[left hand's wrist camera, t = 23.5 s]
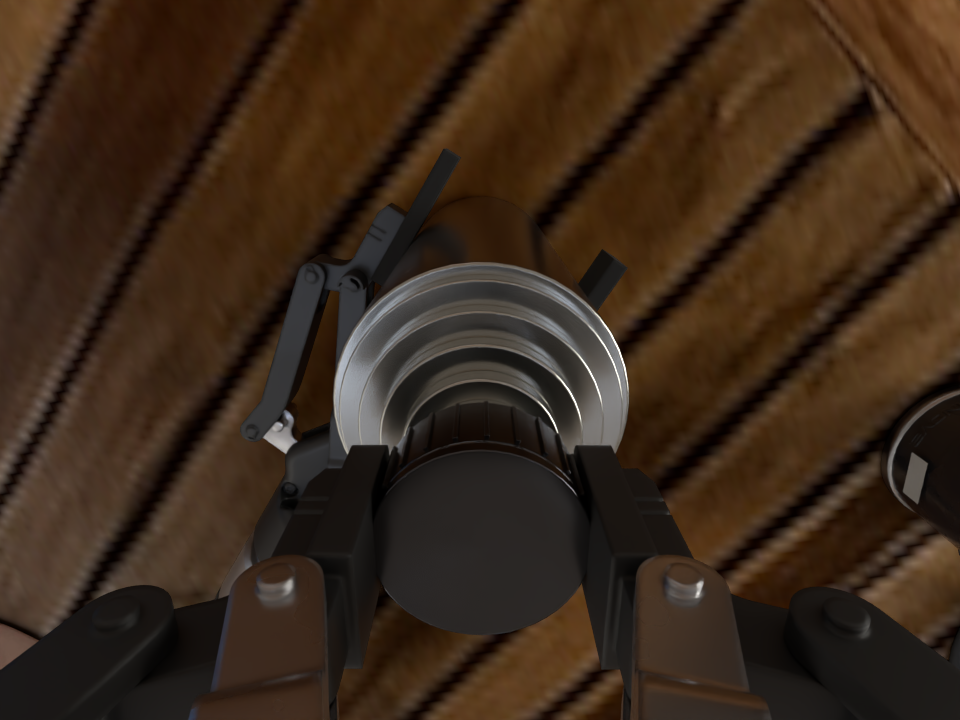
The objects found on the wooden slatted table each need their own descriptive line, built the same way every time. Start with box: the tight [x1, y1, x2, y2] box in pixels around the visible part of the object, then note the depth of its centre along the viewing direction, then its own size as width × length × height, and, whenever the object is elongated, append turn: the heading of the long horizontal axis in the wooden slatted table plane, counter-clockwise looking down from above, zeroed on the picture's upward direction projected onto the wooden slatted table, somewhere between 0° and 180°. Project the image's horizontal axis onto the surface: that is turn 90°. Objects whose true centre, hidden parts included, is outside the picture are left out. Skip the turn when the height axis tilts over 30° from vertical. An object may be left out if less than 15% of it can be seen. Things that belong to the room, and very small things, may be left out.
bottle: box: [333, 196, 629, 455], centre depth 22 cm, size 8×8×24 cm
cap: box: [373, 401, 591, 635], centre depth 11 cm, size 4×4×2 cm
